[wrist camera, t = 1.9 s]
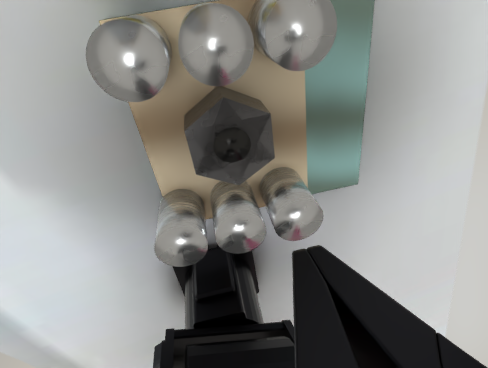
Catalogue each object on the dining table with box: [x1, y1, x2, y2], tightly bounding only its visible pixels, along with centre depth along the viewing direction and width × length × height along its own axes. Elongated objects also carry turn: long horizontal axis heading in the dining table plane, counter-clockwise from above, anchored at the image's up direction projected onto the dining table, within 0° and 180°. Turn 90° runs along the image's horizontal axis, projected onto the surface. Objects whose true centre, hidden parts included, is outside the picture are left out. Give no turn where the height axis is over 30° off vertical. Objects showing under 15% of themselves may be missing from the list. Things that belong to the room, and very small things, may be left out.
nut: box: [184, 86, 275, 185], centre depth 17 cm, size 5×4×3 cm
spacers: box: [86, 0, 337, 267], centre depth 16 cm, size 13×10×4 cm
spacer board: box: [99, 0, 374, 220], centre depth 18 cm, size 13×14×1 cm
